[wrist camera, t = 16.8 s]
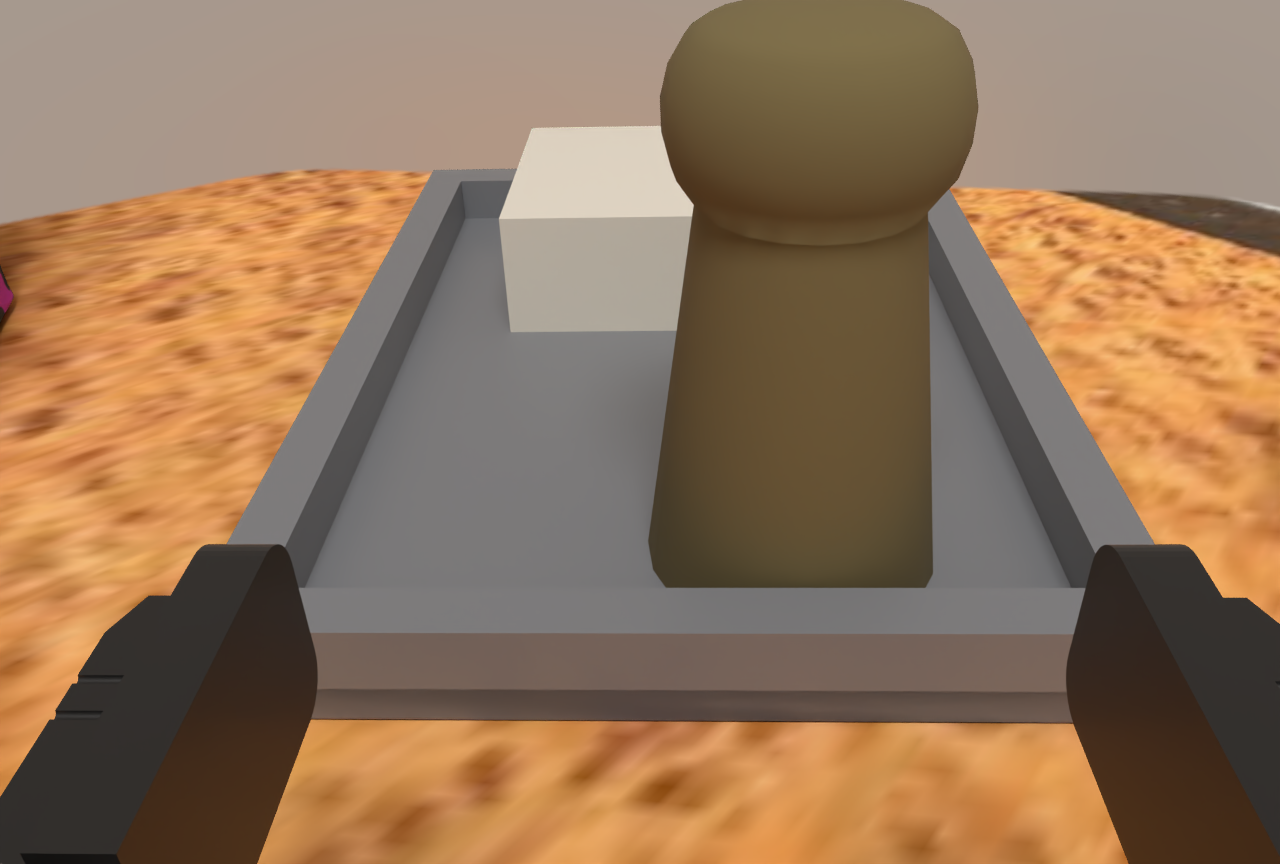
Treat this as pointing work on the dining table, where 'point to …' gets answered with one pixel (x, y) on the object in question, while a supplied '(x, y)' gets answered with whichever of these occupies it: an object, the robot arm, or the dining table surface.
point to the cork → (806, 292)
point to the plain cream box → (595, 232)
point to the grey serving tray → (622, 508)
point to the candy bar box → (4, 295)
